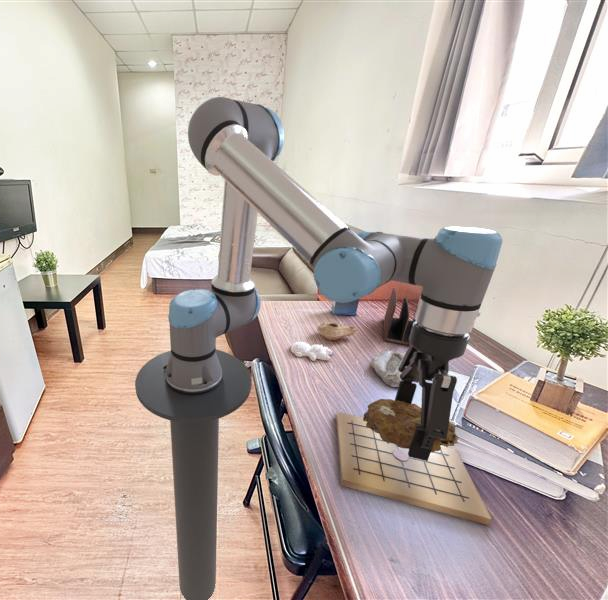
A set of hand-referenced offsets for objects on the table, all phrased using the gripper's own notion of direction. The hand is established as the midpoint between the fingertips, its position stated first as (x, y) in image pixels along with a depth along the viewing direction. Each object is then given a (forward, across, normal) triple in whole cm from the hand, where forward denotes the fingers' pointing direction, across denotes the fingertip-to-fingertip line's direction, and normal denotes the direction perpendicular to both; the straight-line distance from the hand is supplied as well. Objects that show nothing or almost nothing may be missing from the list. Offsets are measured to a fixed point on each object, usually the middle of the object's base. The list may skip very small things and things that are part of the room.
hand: (408, 431), depth 58 cm
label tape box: (+8, +72, +5) cm, 73 cm away
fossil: (+8, +34, -6) cm, 35 cm away
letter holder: (+8, +61, -13) cm, 63 cm away
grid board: (+8, 0, 0) cm, 8 cm away
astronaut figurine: (+8, +36, +17) cm, 41 cm away
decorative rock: (0, 0, 0) cm, 0 cm away
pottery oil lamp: (+8, +49, +9) cm, 50 cm away
